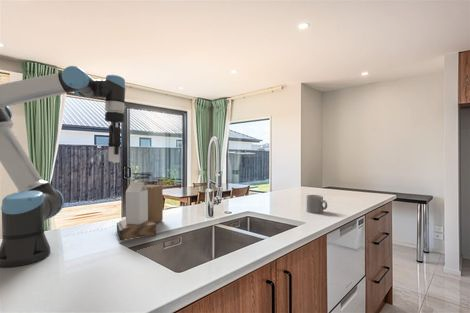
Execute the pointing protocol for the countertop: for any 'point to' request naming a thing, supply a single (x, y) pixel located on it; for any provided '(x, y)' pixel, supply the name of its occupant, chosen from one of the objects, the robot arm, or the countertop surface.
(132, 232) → the block
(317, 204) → the coffee mug
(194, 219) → the countertop surface
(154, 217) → the wooden block
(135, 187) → the milk carton
